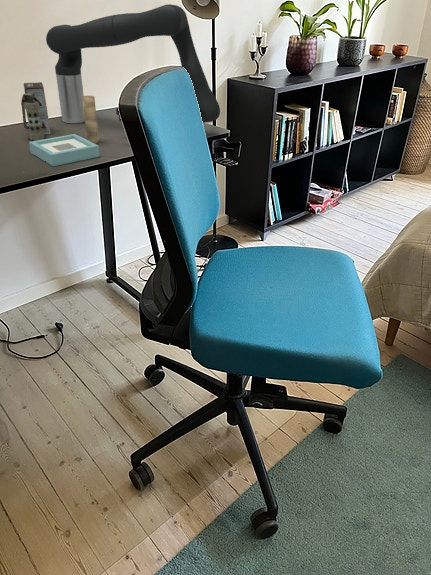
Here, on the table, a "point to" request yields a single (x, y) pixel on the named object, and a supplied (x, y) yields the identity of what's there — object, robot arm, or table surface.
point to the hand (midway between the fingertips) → (117, 114)
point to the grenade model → (32, 116)
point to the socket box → (64, 149)
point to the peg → (90, 119)
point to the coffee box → (40, 96)
